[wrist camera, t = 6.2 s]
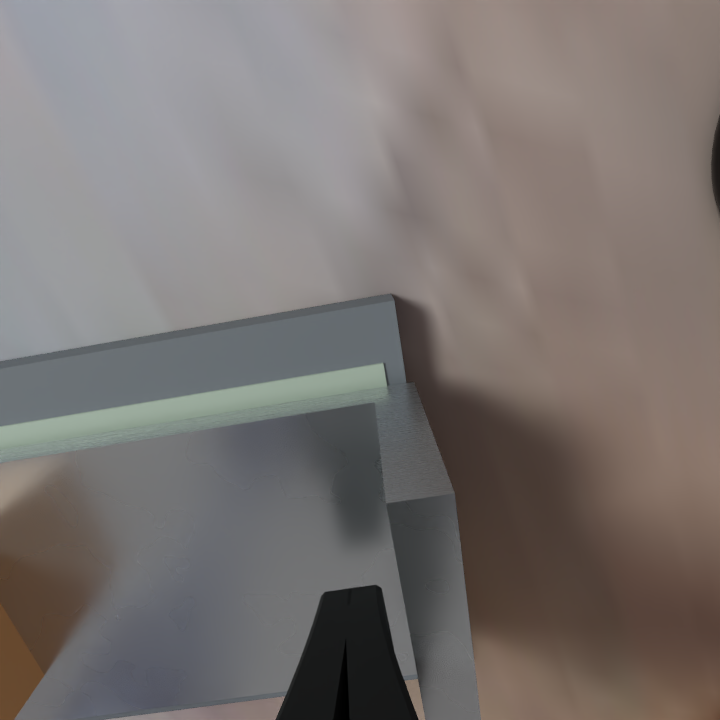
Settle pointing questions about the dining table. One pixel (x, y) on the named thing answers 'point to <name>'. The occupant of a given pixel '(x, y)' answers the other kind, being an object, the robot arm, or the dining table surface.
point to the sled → (231, 553)
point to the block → (15, 669)
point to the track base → (201, 380)
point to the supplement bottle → (716, 164)
